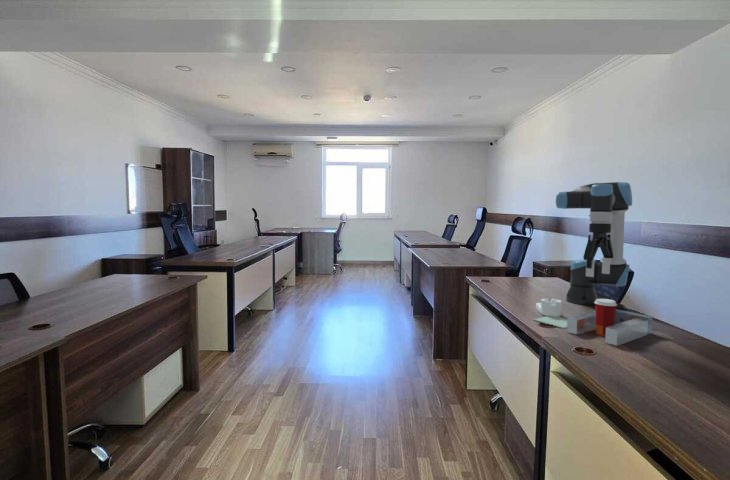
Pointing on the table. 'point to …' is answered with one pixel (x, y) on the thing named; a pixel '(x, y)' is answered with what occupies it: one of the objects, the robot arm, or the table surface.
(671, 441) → the table surface
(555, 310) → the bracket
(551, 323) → the mat
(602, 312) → the paper cup
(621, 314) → the vise
